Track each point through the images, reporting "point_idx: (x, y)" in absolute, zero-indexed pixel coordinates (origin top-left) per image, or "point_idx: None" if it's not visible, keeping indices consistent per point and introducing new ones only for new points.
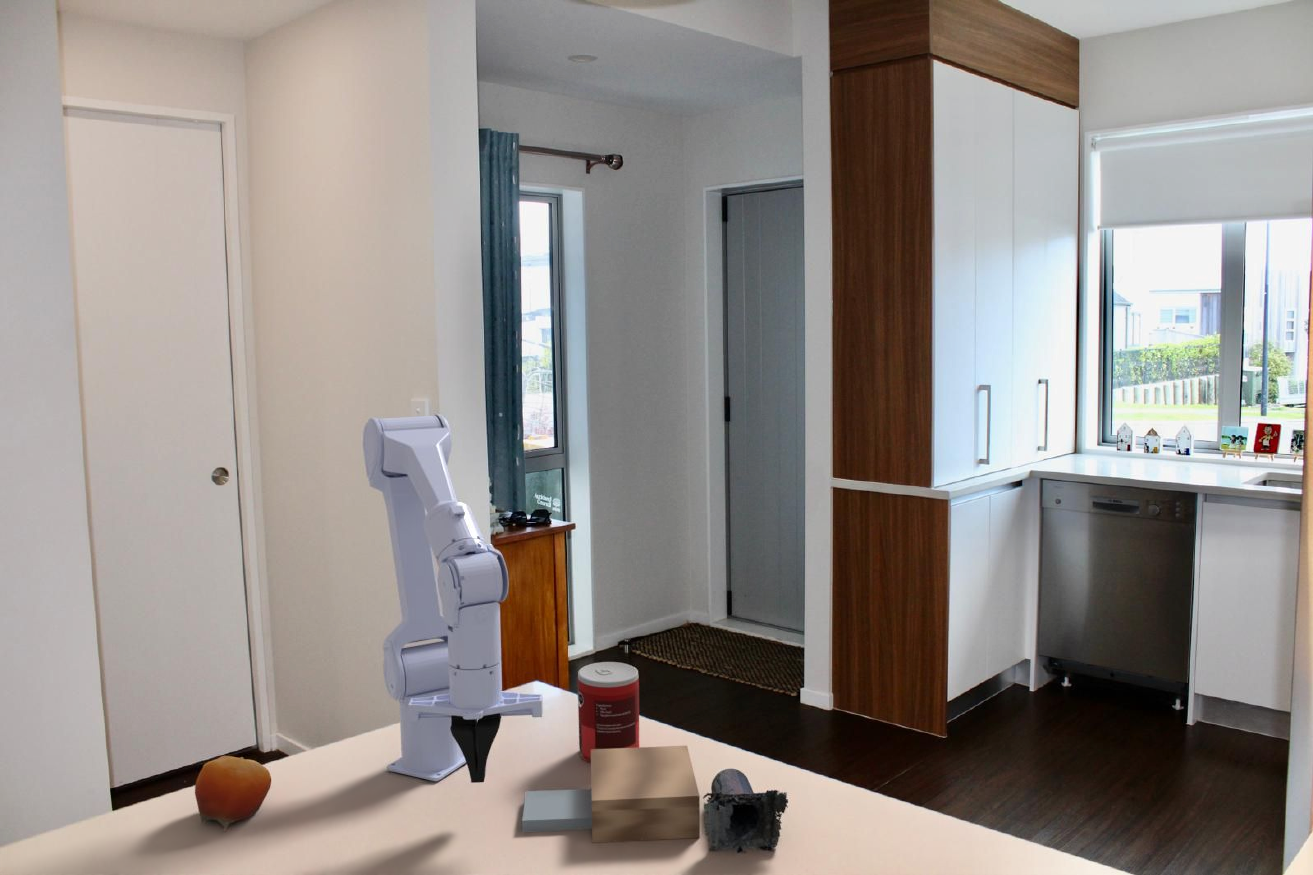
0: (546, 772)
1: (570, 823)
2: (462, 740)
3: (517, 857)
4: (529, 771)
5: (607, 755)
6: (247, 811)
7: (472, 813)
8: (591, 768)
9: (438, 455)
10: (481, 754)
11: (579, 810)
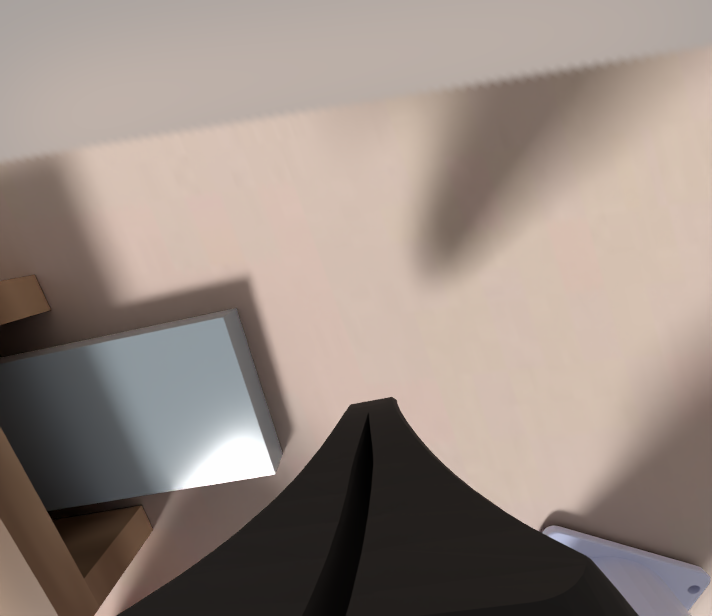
0: None
1: (105, 339)
2: (459, 527)
3: (197, 171)
4: None
5: (2, 612)
6: None
7: (403, 386)
8: (5, 530)
9: None
10: (327, 473)
11: (89, 389)
